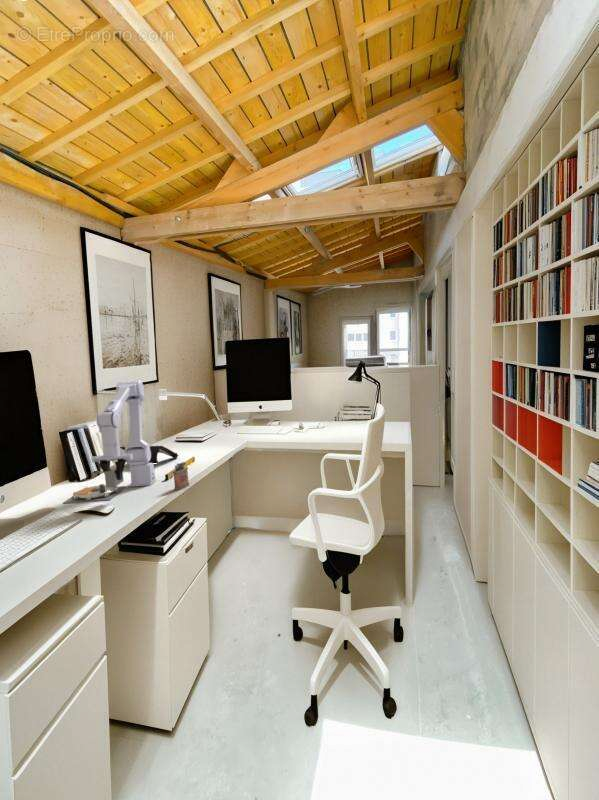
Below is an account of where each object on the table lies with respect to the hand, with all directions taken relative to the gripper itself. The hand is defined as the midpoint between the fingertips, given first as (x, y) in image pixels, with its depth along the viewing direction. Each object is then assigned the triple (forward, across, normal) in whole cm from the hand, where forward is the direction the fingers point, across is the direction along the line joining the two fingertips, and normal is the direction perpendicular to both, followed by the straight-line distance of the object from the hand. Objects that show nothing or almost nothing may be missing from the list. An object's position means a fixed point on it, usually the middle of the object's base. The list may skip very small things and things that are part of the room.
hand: (114, 479), depth 171 cm
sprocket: (+9, -13, +12) cm, 19 cm away
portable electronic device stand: (+9, -6, +66) cm, 67 cm away
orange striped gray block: (+2, 0, 0) cm, 2 cm away
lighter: (+9, +21, +14) cm, 27 cm away
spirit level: (+9, +14, +43) cm, 46 cm away
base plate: (+9, -13, +12) cm, 19 cm away
